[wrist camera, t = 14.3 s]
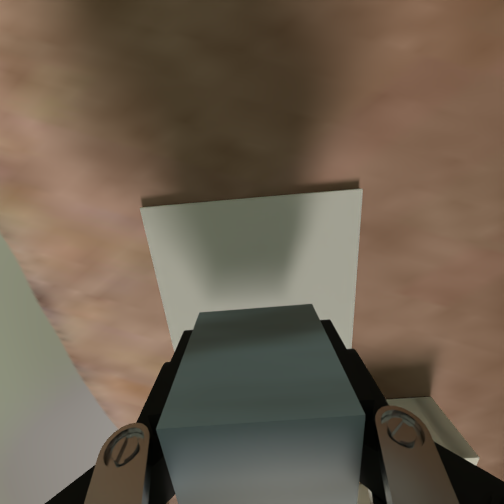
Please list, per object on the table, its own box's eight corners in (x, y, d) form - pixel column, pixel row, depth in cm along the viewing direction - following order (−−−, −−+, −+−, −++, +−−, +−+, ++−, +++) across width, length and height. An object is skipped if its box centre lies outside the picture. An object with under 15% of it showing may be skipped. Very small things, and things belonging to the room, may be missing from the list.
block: (199, 312, 10) (156, 428, 6) (311, 303, 10) (365, 414, 5) (214, 396, 12) (190, 544, 7) (312, 390, 12) (354, 535, 7)
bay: (254, 407, 18) (255, 470, 14) (430, 396, 18) (479, 457, 14) (264, 499, 22) (267, 567, 18) (409, 491, 22) (442, 558, 18)
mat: (142, 207, 13) (139, 208, 13) (359, 188, 13) (362, 188, 12) (182, 372, 17) (180, 377, 17) (348, 361, 17) (350, 365, 16)
